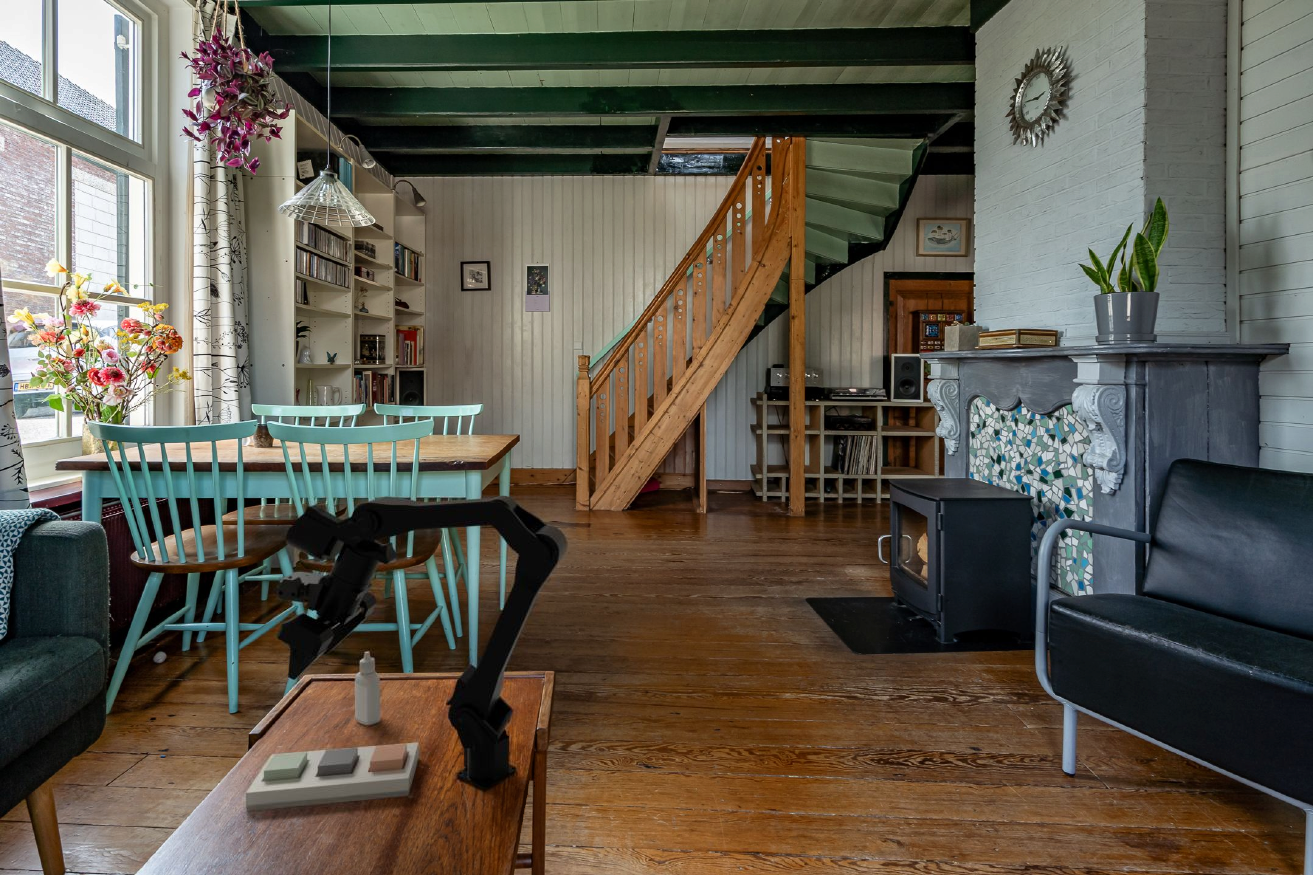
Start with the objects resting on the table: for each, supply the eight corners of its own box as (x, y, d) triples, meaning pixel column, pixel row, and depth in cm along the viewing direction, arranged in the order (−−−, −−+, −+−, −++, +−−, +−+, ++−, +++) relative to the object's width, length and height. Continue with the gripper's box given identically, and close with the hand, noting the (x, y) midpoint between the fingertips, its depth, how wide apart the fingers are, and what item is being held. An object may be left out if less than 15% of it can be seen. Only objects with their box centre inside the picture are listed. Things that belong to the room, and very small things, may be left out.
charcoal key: (357, 760, 102) (357, 747, 102) (350, 776, 98) (350, 763, 97) (326, 762, 101) (326, 749, 101) (317, 779, 97) (317, 765, 97)
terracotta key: (406, 756, 103) (406, 743, 103) (402, 772, 99) (402, 758, 99) (376, 758, 102) (376, 745, 102) (370, 774, 98) (369, 761, 98)
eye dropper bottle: (351, 728, 115) (351, 659, 115) (356, 713, 121) (355, 647, 120) (379, 725, 117) (379, 657, 116) (382, 710, 122) (382, 645, 121)
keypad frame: (418, 758, 106) (418, 742, 106) (408, 795, 97) (408, 777, 96) (272, 770, 102) (271, 754, 102) (246, 811, 92) (245, 792, 92)
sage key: (307, 764, 100) (307, 751, 100) (297, 781, 96) (297, 767, 96) (274, 767, 100) (274, 754, 99) (264, 784, 95) (263, 770, 95)
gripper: (333, 536, 111) (294, 619, 112) (265, 568, 92) (219, 667, 93) (395, 567, 111) (355, 649, 112) (339, 604, 92) (292, 703, 93)
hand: (308, 664), depth 103 cm, fingers open, 9 cm apart
